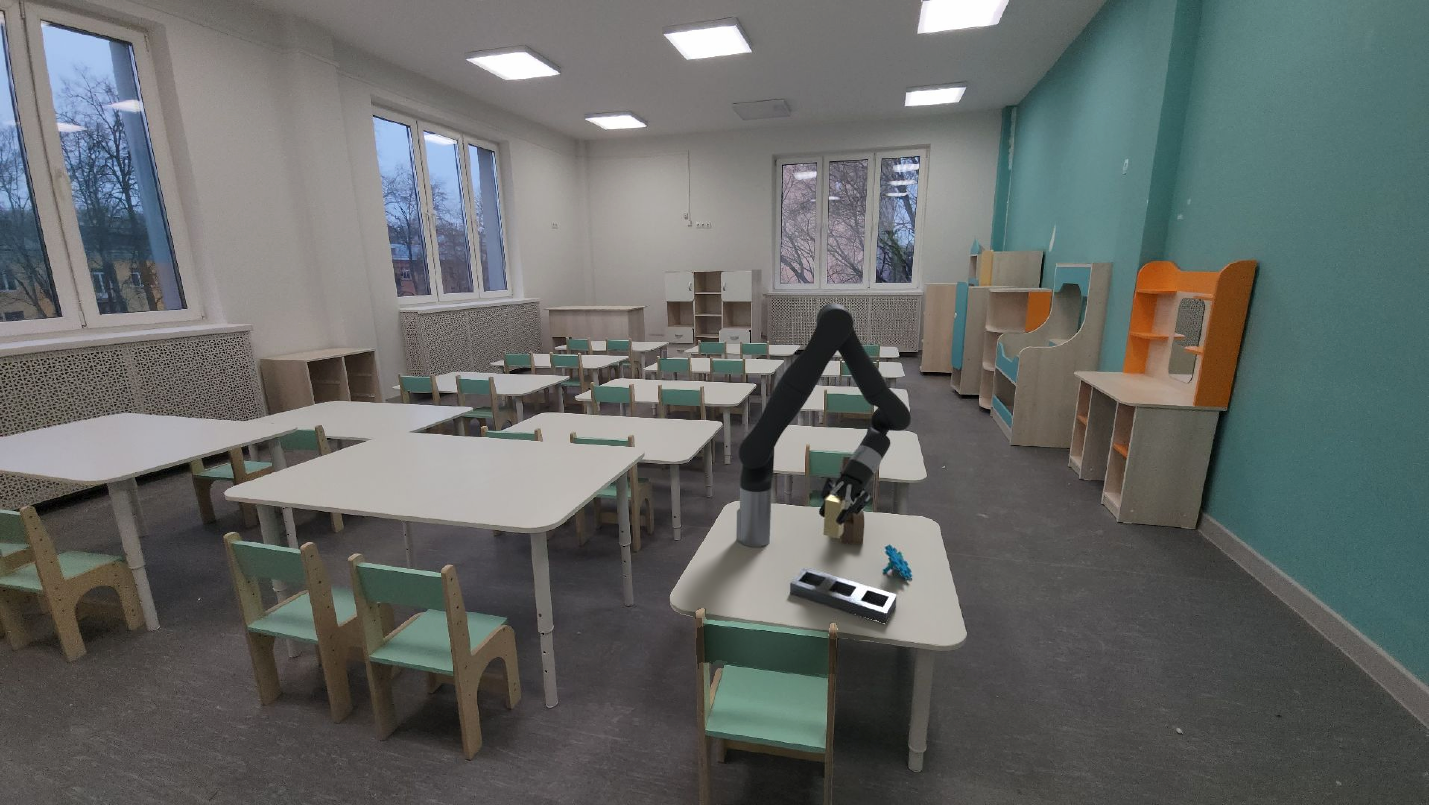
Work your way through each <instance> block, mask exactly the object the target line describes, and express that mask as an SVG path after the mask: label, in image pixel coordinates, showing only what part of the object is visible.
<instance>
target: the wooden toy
mask: <svg viewBox="0 0 1429 805" xmlns="http://www.w3.org/2000/svg"><path fill="white" fill-rule="evenodd" d="M851 456H852V455H851ZM851 456H849V455H848V456H847V455H846V456H843V458H842V459H841V462H840V465H839V467H838V468H839V472H838V478H840V476H841V473H842V471H843V469H844V467H845V466H846V464H847V463H848V461H849V459H850V458H851ZM857 498H858V497H857ZM857 498H856V501H857V500H858V499H857ZM856 501H855V502H856ZM864 512H865V511H864V509H862V510H861V511H860V512H859V513H858V514H855V513H851V514H849V516H848V518H847V519H846V521H845V523H844V528H843V533H842V535H841V536H840V537H839V538H838V539H839V541H840V544H841V545H864V534H865V514H864Z"/></svg>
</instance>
